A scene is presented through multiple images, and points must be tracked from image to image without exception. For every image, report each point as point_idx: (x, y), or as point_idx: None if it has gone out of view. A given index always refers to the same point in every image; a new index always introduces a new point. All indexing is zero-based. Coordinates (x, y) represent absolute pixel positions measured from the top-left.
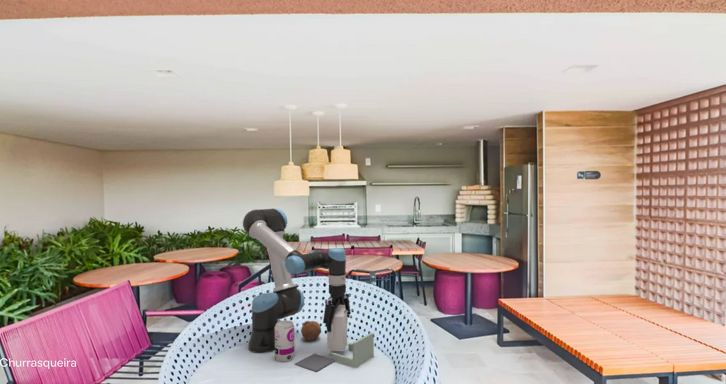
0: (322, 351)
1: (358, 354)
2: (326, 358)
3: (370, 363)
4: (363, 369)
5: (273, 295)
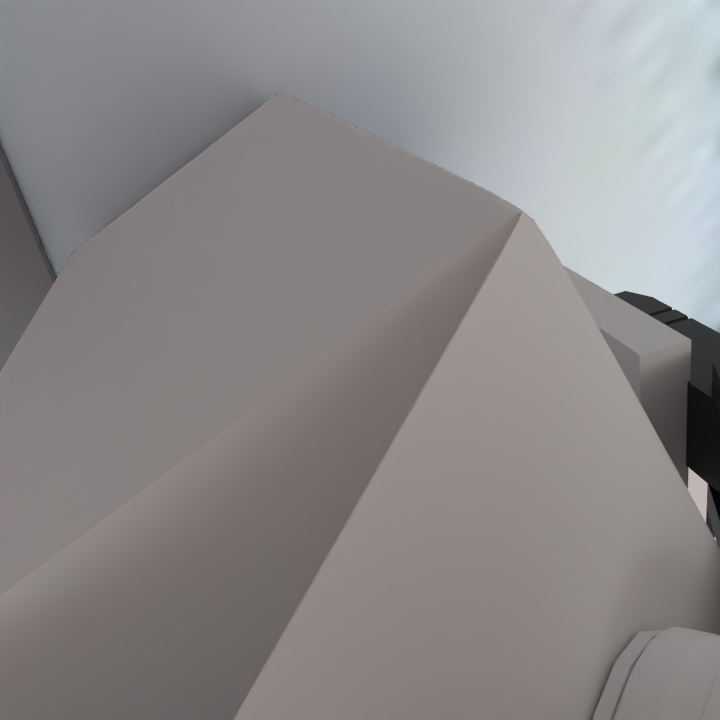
0: (121, 14)
1: None
2: (20, 306)
3: None
4: None
5: None
